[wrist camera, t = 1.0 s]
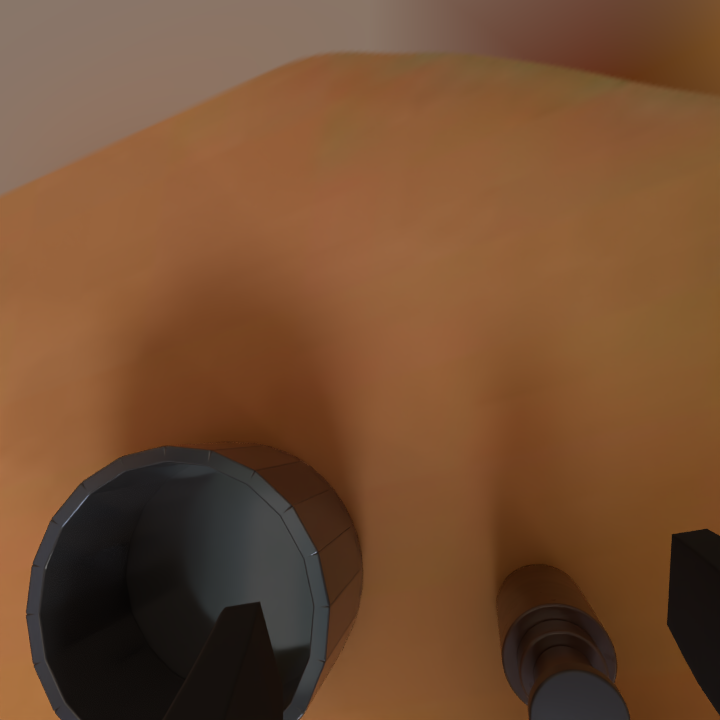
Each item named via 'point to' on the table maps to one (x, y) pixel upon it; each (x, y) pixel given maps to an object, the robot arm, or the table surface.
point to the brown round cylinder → (189, 576)
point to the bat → (556, 648)
